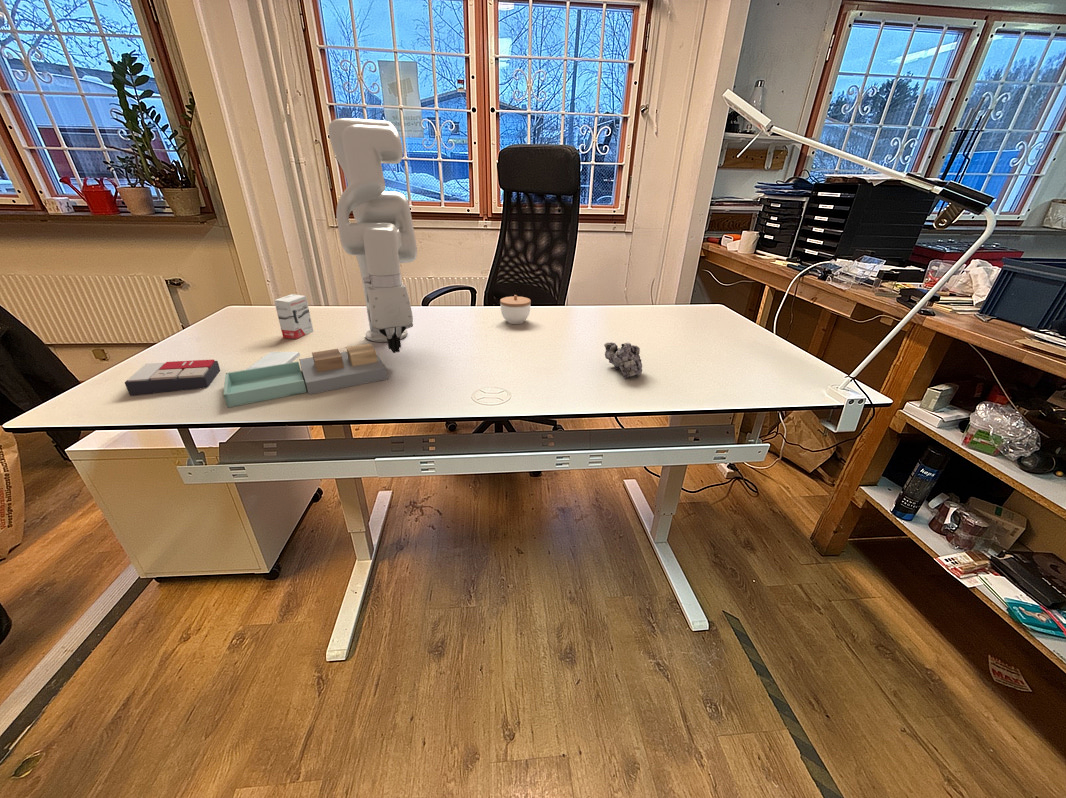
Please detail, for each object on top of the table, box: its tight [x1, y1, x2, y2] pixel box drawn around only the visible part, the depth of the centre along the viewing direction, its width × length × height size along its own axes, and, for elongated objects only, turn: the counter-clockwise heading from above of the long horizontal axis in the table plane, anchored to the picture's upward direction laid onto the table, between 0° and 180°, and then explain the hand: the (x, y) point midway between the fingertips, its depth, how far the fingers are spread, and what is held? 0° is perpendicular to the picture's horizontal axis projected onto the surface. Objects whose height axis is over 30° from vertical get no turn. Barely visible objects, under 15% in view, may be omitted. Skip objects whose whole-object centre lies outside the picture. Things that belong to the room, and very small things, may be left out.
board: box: [298, 351, 389, 395], centre depth 107 cm, size 16×18×3 cm
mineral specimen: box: [603, 341, 643, 380], centre depth 111 cm, size 12×9×10 cm
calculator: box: [124, 359, 221, 397], centre depth 101 cm, size 11×4×15 cm
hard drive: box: [245, 351, 301, 370], centre depth 112 cm, size 2×8×12 cm
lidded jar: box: [499, 294, 532, 325], centre depth 149 cm, size 11×11×9 cm
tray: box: [222, 360, 308, 408], centre depth 99 cm, size 13×15×3 cm
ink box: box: [274, 293, 314, 340], centre depth 131 cm, size 8×5×12 cm, turn 169°
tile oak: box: [345, 343, 378, 366], centre depth 108 cm, size 6×6×3 cm
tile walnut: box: [311, 348, 344, 372], centre depth 104 cm, size 6×6×3 cm
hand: (395, 350), depth 112 cm, fingers closed
